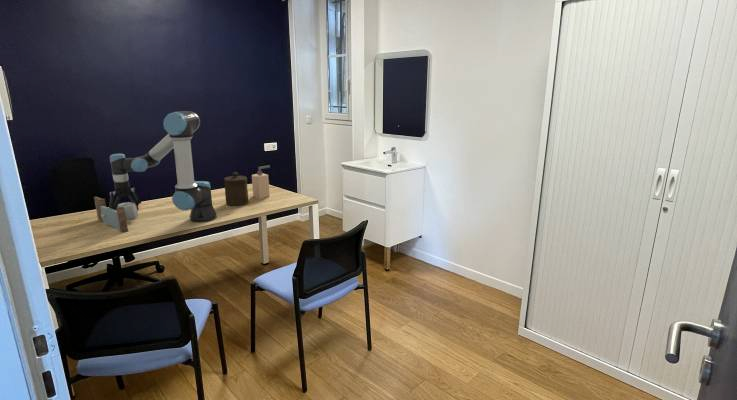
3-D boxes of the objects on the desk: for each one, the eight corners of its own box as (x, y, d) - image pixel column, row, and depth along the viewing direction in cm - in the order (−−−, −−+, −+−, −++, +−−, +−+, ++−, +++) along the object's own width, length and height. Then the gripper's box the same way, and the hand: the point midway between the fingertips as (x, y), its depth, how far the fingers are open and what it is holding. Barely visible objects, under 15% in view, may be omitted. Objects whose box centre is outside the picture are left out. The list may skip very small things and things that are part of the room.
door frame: (128, 231, 223) (124, 207, 219) (122, 233, 221) (118, 208, 217) (102, 218, 244) (98, 196, 240) (96, 219, 242) (92, 197, 238)
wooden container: (248, 199, 286) (245, 169, 280) (249, 205, 272) (246, 173, 266) (226, 201, 281) (223, 170, 275) (226, 207, 268) (223, 175, 262)
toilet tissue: (111, 218, 238) (109, 204, 235) (137, 215, 244) (135, 201, 241) (110, 222, 230) (108, 208, 228) (137, 219, 236) (134, 205, 234)
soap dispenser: (259, 198, 289) (257, 168, 283) (253, 196, 295) (250, 166, 289) (274, 195, 298) (272, 166, 292) (267, 193, 304) (266, 164, 298)
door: (124, 229, 224) (121, 212, 222) (118, 231, 222) (115, 213, 219) (106, 221, 236) (103, 205, 233) (100, 223, 234) (97, 206, 231)
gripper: (138, 176, 242) (144, 212, 248) (97, 183, 225) (104, 221, 232) (144, 178, 238) (149, 214, 244) (102, 185, 221) (109, 224, 227)
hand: (127, 217), depth 238 cm, fingers closed on toilet tissue, 9 cm apart
